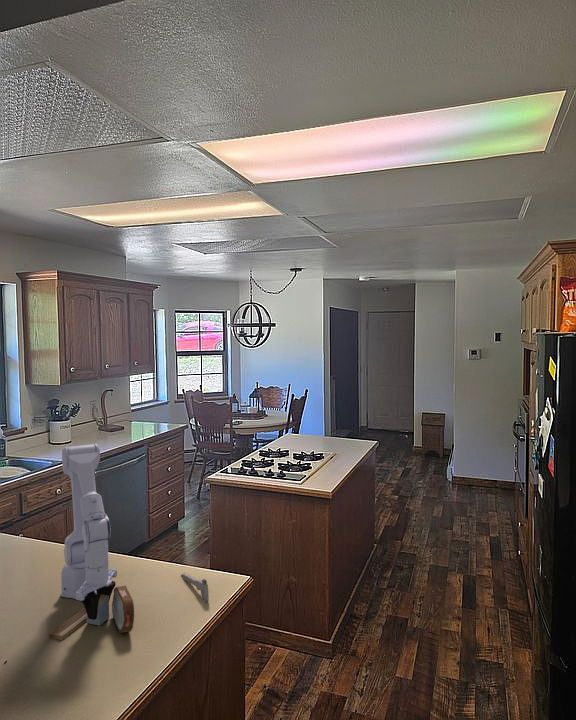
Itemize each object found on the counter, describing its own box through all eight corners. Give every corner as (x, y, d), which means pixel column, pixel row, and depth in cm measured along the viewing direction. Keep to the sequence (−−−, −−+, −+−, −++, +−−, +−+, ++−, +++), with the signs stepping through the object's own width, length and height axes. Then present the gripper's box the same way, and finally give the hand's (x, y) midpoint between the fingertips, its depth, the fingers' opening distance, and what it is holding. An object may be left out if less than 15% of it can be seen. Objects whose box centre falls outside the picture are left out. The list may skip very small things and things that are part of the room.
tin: (131, 638, 131) (138, 604, 131) (119, 639, 129) (125, 604, 130) (119, 611, 144) (125, 580, 144) (108, 611, 142) (114, 580, 143)
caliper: (208, 603, 149) (208, 581, 148) (205, 604, 148) (205, 582, 148) (183, 575, 166) (183, 556, 166) (180, 576, 165) (180, 557, 165)
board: (49, 637, 131) (48, 633, 131) (85, 609, 144) (85, 606, 144) (62, 640, 130) (62, 635, 130) (98, 612, 143) (98, 608, 143)
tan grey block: (86, 623, 137) (86, 600, 137) (96, 615, 141) (96, 593, 141) (99, 625, 136) (99, 603, 136) (109, 617, 140) (109, 595, 140)
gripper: (91, 577, 130) (92, 631, 130) (126, 555, 144) (126, 603, 144) (68, 574, 132) (69, 626, 132) (104, 552, 146) (105, 599, 146)
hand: (97, 614), depth 139 cm, fingers closed on tan grey block, 4 cm apart
